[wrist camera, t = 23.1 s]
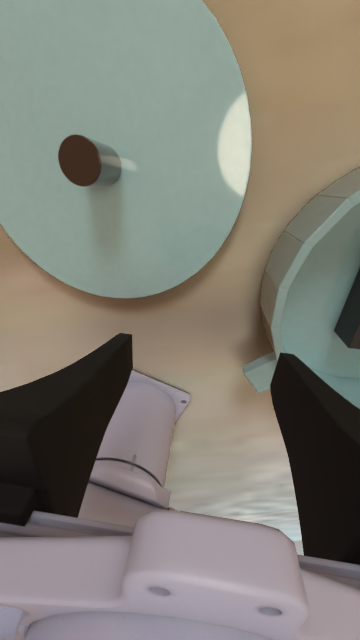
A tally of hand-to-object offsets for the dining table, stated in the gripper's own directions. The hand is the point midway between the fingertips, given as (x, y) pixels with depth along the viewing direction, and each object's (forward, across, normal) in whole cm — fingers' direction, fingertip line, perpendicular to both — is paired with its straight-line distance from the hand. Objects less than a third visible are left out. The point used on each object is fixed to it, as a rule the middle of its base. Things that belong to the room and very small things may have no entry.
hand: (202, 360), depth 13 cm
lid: (+9, +8, -8) cm, 15 cm away
